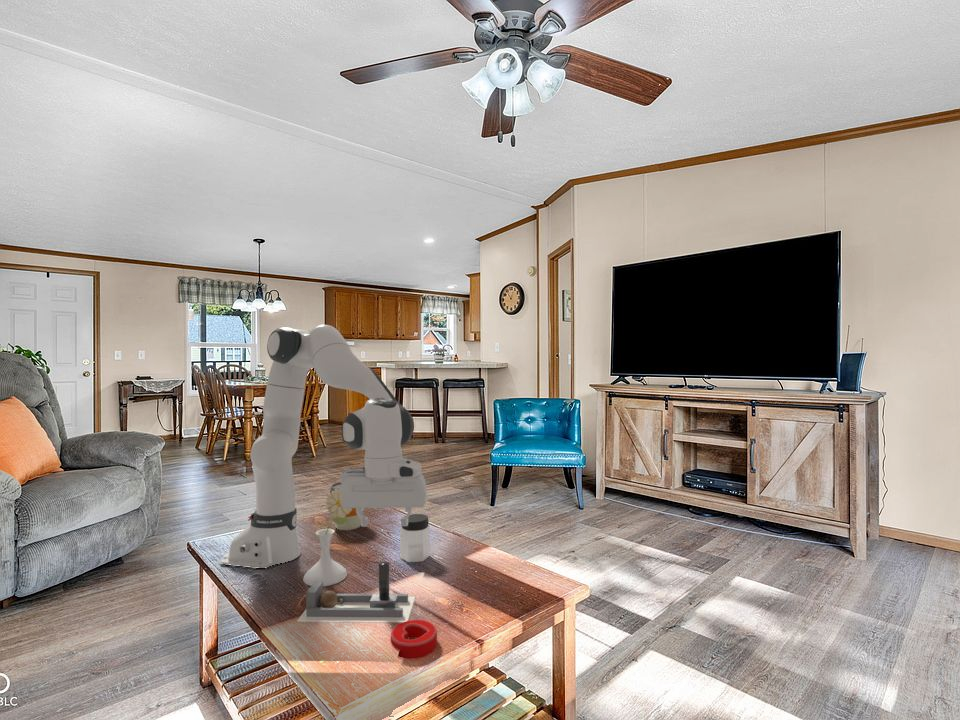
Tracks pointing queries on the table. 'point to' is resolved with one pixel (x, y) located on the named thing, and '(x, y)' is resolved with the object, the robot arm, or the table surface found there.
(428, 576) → the table surface
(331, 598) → the brown ball
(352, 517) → the reusable coffee cup
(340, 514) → the flower in vase
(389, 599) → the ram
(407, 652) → the decorative ornament
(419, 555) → the jar
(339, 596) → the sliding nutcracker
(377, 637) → the table surface
